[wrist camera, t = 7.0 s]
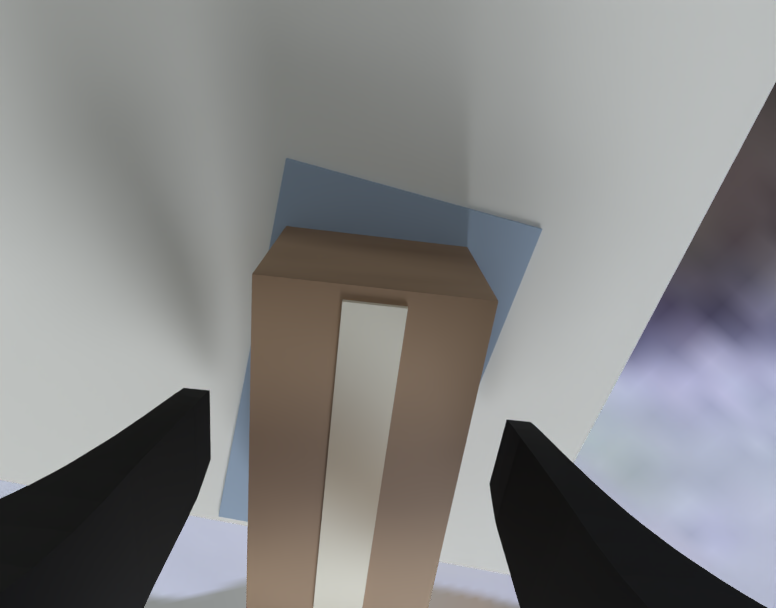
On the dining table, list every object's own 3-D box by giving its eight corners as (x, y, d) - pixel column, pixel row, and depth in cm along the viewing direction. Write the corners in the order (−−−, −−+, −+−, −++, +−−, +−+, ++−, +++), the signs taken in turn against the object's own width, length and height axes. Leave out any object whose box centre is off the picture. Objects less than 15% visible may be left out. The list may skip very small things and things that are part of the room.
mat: (857, -113, 10) (890, -128, 9) (509, 560, 18) (514, 578, 17) (-222, -543, 8) (-275, -600, 7) (-94, 445, 15) (-115, 461, 15)
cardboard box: (415, 516, 16) (424, 627, 12) (274, 504, 15) (245, 616, 12) (467, 247, 12) (499, 302, 9) (286, 226, 12) (250, 276, 9)
